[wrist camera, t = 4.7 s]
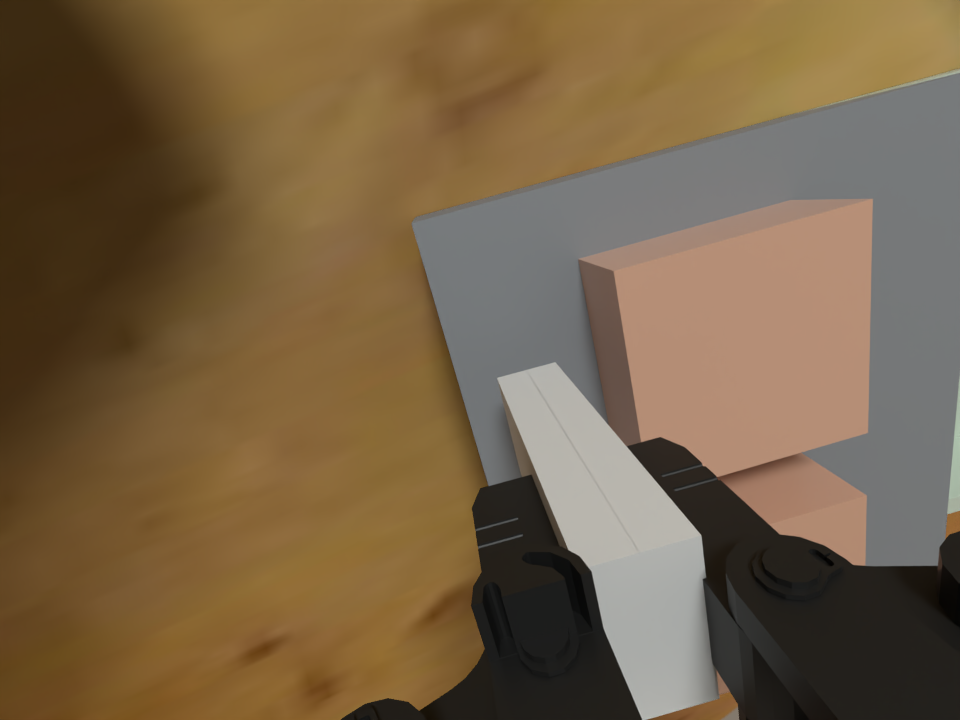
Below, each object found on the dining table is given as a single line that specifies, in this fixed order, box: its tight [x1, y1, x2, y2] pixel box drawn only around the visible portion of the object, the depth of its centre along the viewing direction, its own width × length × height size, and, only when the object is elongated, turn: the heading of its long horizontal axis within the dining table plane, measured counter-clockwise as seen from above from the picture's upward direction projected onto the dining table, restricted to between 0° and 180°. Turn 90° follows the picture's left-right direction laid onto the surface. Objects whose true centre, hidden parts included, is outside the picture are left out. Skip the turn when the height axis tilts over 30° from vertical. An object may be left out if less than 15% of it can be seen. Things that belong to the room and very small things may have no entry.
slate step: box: [412, 73, 960, 566], centre depth 18 cm, size 18×16×7 cm
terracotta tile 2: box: [716, 453, 867, 695], centre depth 15 cm, size 6×6×2 cm
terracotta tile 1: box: [578, 199, 873, 477], centre depth 13 cm, size 6×6×2 cm
